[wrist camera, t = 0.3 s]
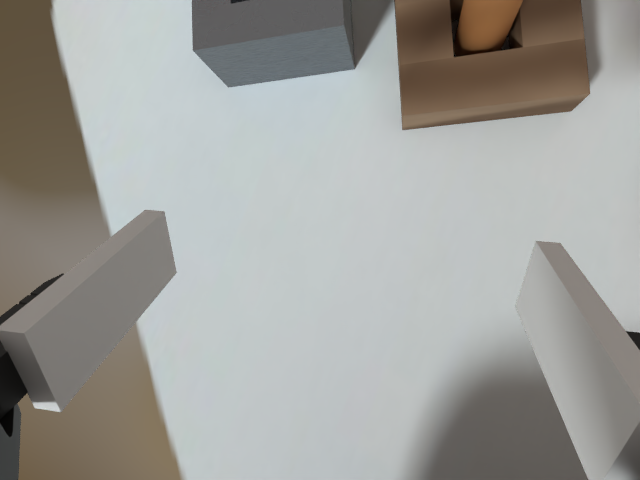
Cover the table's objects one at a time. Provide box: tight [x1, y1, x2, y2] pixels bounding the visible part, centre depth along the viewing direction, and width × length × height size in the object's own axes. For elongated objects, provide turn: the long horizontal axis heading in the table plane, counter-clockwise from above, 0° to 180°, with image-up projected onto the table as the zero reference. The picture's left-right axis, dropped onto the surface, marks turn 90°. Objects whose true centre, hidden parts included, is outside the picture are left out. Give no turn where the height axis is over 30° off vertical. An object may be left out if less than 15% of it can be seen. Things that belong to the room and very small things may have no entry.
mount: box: [394, 0, 590, 130], centre depth 29 cm, size 12×12×3 cm
